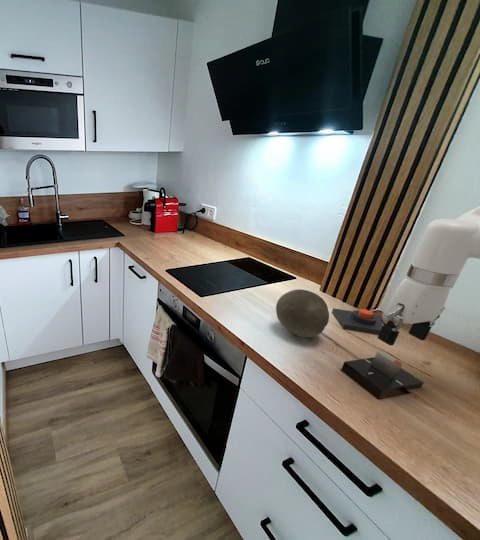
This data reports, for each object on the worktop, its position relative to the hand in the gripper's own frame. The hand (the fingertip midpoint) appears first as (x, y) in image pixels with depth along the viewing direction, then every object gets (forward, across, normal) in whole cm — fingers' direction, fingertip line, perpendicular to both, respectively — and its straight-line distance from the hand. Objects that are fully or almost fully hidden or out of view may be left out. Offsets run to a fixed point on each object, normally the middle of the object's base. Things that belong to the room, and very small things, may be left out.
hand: (400, 339), depth 70 cm
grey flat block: (+13, -18, -21) cm, 31 cm away
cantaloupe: (+13, +7, -22) cm, 27 cm away
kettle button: (+9, -18, -21) cm, 29 cm away
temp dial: (+10, +1, 0) cm, 10 cm away
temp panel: (+13, +1, 0) cm, 13 cm away
